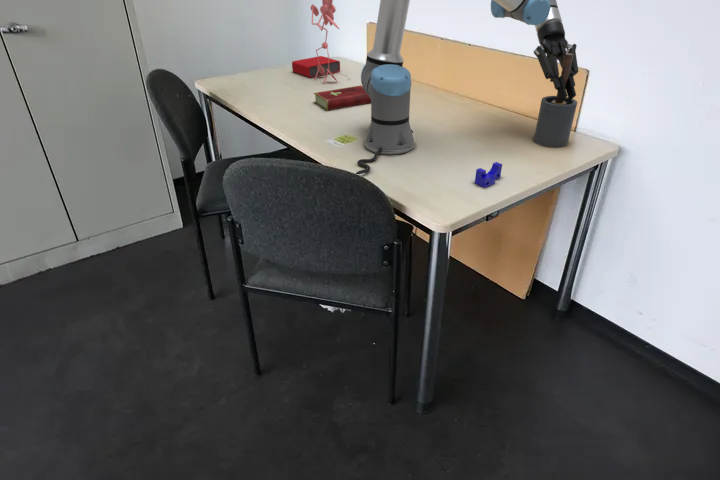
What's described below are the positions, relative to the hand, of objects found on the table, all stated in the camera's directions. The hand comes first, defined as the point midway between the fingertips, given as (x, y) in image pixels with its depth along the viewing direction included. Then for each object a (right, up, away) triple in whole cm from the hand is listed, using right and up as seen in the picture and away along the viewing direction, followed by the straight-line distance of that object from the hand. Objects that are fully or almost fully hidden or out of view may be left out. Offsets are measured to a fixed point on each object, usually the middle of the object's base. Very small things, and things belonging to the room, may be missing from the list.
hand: (568, 97), depth 142 cm
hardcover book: (-68, +12, +48) cm, 83 cm away
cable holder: (-27, -26, -12) cm, 39 cm away
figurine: (-74, +31, +77) cm, 111 cm away
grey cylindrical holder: (-1, -10, +11) cm, 15 cm away
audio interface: (-83, +41, +87) cm, 126 cm away
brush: (-1, -7, +9) cm, 11 cm away
